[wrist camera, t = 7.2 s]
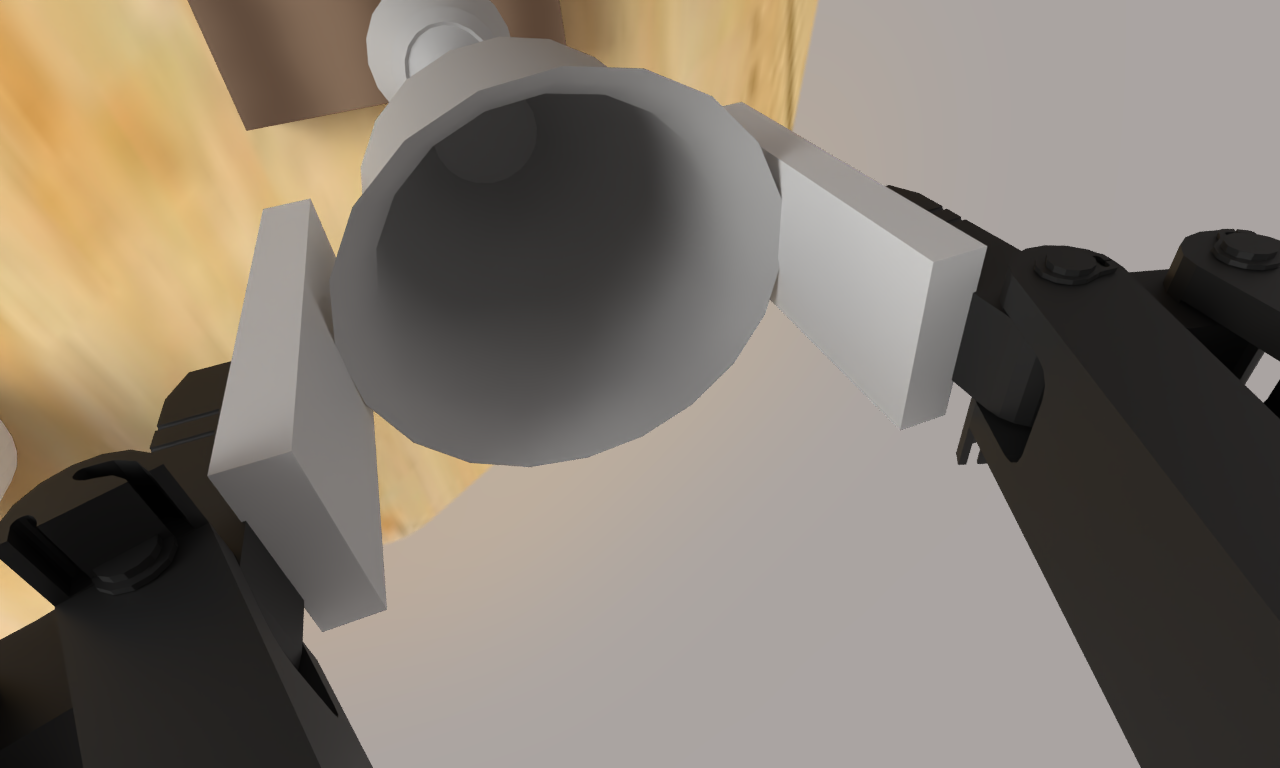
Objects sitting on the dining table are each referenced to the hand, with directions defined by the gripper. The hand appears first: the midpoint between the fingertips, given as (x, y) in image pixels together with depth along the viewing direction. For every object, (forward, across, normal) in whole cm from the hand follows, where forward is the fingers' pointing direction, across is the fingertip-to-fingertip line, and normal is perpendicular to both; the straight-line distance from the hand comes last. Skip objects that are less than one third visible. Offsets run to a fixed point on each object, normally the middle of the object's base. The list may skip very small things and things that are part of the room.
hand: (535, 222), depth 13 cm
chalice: (+15, 0, 0) cm, 15 cm away
